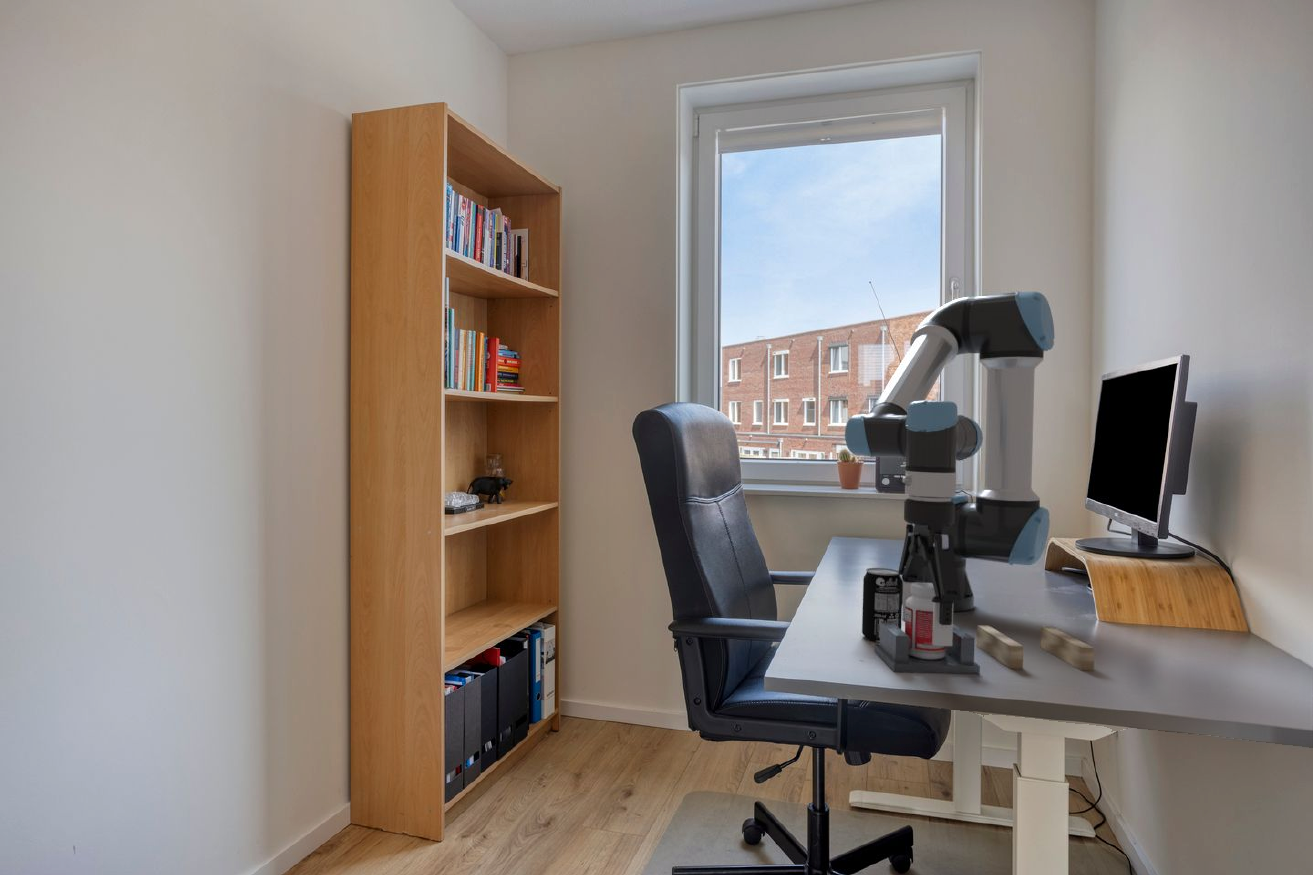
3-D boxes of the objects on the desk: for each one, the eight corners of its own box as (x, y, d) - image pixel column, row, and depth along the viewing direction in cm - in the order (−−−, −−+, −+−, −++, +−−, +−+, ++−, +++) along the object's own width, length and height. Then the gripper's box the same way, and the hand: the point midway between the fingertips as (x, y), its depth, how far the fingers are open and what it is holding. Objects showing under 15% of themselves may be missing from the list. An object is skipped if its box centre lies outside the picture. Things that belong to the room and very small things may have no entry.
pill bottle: (954, 656, 116) (955, 586, 116) (929, 663, 112) (931, 590, 112) (920, 646, 121) (922, 579, 121) (896, 652, 118) (897, 583, 118)
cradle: (874, 651, 122) (875, 620, 122) (953, 653, 122) (954, 622, 122) (893, 671, 112) (894, 637, 112) (979, 673, 112) (980, 639, 112)
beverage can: (873, 631, 134) (875, 565, 134) (907, 639, 130) (909, 571, 129) (854, 637, 130) (856, 569, 130) (889, 646, 125) (891, 575, 125)
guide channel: (976, 645, 127) (977, 625, 127) (1052, 647, 127) (1053, 627, 127) (1009, 668, 115) (1010, 646, 115) (1093, 670, 115) (1094, 648, 115)
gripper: (881, 491, 129) (878, 612, 129) (935, 506, 104) (930, 656, 104) (924, 492, 129) (921, 613, 129) (988, 507, 104) (984, 657, 104)
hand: (925, 632), depth 117 cm, fingers open, 13 cm apart
